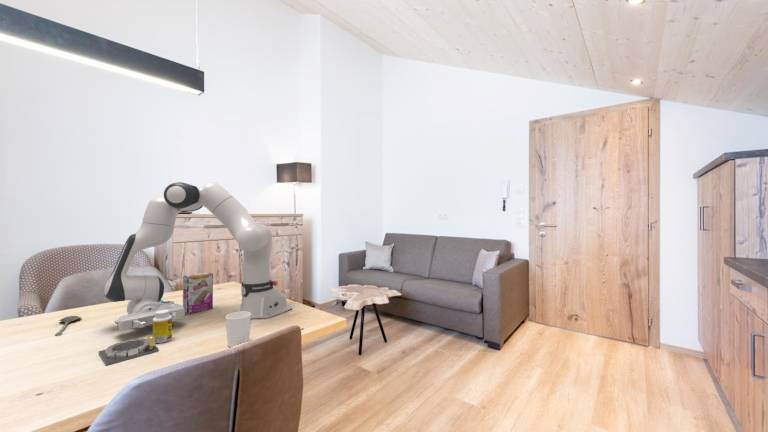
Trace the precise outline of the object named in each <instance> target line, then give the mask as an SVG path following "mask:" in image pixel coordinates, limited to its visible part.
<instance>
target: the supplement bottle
mask: <svg viewBox="0 0 768 432" xmlns="http://www.w3.org/2000/svg"><path fill="white" fill-rule="evenodd" d="M152 335H155V344H163V343H166V342H169V341H170V340H172V338H173V321H172V316H171V315H169V310H160V311H157V312H156V313H155V318H153V325H152Z"/></svg>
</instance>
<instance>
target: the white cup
mask: <svg viewBox="0 0 768 432" xmlns="http://www.w3.org/2000/svg"><path fill="white" fill-rule="evenodd" d="M251 319H252V318H251V313H250V312H246V311H241V312H240V311H235V312H230V313H228V314H227V315H225V331H226V339H227V347H228V348H230V347H233V346H236V345H239V344H242V343H245V342H248V341H249V342H250V338H251V337H250V336H251V324H252V323H251V321H252V320H251Z"/></svg>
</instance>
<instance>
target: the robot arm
mask: <svg viewBox="0 0 768 432" xmlns="http://www.w3.org/2000/svg"><path fill="white" fill-rule="evenodd" d="M203 207H204V208H206V209H207V210H208V211H209V212H210V213H211V214H212V215H213V216H214V217H215V218H216V219H217V220H218V221H220V223H221V224H222V225H223V226H224V227H225V228H226V229H227V230H228V232H229V233H230V235H231V236H232V237H233V238H234V240H235V241H236V242H237V245H238V246H239V247H240V248H241V249H242V250H243V251H244V257H243V260H242V261H243V262H242V265H241V266H242V282H241V291H240V292H241V305H240V309H239V312H241V311H246V312H250V313H251V319H269V318H272V317H275V316H278V315H280V314H283V313H286V312H288V310H289V311H291V310H292V309H293V306H292V305H291V304H289V303H288V302H287V298H286V295H284V294H283V293H282V292H281V291H279V290H278V289H276V288H274V287H277V286H278V284H279V282H278V281H276V280H271V279H270V275H271V274H270V271H271V270H270V269H271V267H270V266H271V265H270V264H271V262H270V261H271V253H272V252H271V251H272V238H273V232H272V231H271V229H270V228H269V226H267V225H265V224H261V223H257V222H256V220H254V218H253V217H252V215H251V214H250V213H249V212H248V210H247V208H245V206H243V205H242V204H241V202H240V201H239V200H237V199H236V197H234V196H233V195H232V194H231V193H230V192H229V191H228V190H227V189H225V188H224V187H223V186H221V185H220V184H218V183H217V182H208V183H206V184H203V186H201V187H197V186H196V185H193V184H190V183H186V182H183V181H181V182H179V181H177V182H173V183H169V185H167V186H166V187H165V189H164V191H163V197H162V196H158V197H157V196H156V197H154V198H151V199H150V200H149V201H148V203H147V206H146V209H145V211H144V214H143V217H142V223H141V225H140V227H139V228H138V230H137V231H136V232H135V233H133V234H130V235H129V236H128V238H127V239H126V241H125V244H124V246H123V247H122V250H121V252H120V254H119V256H118V259H117V261H116V263H115V265H114V268H113V270H112V272H111V275H110V276H109V278H108V280H107V282H106V284H105V286H104V295H103V296H104V297H105V298H106V299H108V300H109V301H111V302H112V303H117V302H118V303H119V302H125V301H128V303H127V305H126V313H127V314H125V315H121V316H119V317H118V319H115V320H114V324H116V325H118V329H119V331H127V330H132V329H135V328H139V329H142V328H145V327H150V326H153V318H155V313H156V312H157V311H160V310H169V315H171V316H172V322H173V321H176V320H177V319H179V318H184V317H185V314H186V313H185V309H184V307H183V305H181V304H178V303H175V301H173V300H168V301H167V300H166V301H164V302H160V300H162V299H163V296H164V294H165V283H164V281H163V279H162V278H161V277H160V276H159V275H155V274H154V275H149V274H148V275H139V274H138V275H136V274H135V275H134V274H133V275H131V274H128V271H129V269H130V266H131V264H132V262H133V260H134V257H135V256H136V254H138V253H139V252H141V251H143V250H146V249H149V248H154V247H157V246H160V245H164V244H166V243H167V242H168V241H169V240H170V239H171V238H172V237H173V233H174V230H175V225H176V219H177V216H178V215H179V213H182V214H183V213H189V212H196V211H198V210H200V209H202V208H203ZM290 309H291V310H290ZM285 311H286V312H285Z"/></svg>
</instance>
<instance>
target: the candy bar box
mask: <svg viewBox="0 0 768 432" xmlns="http://www.w3.org/2000/svg"><path fill="white" fill-rule="evenodd" d="M213 299H214V273H212V272H201V273H195V274H193V273H192V274H186V275H183V276H182V306H183V307H184V309H185V314H186V315H191V314H194V313H199V312H202V311H207V310H211V309H212V310H213V307H214V306H213V305H214V301H213Z"/></svg>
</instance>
